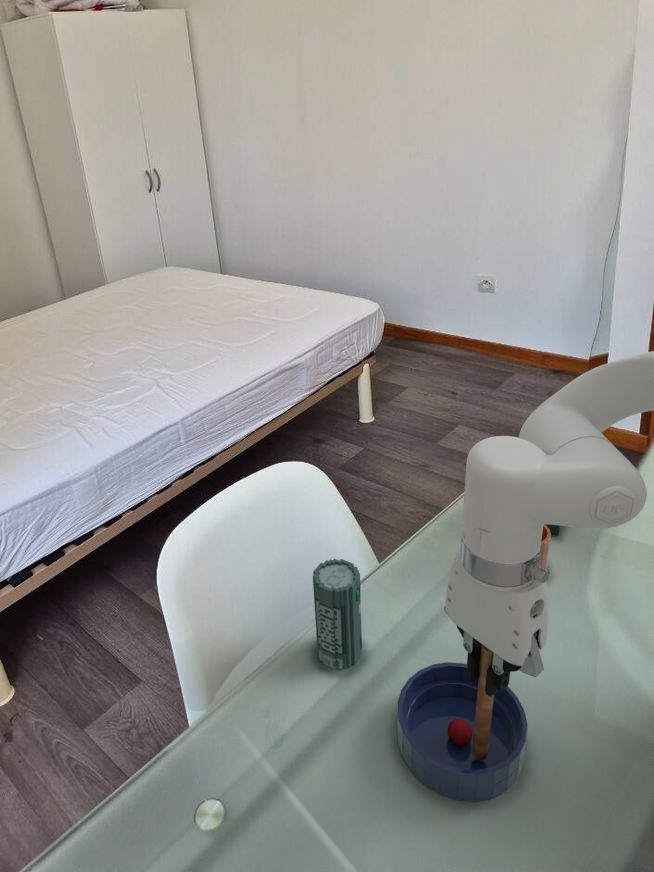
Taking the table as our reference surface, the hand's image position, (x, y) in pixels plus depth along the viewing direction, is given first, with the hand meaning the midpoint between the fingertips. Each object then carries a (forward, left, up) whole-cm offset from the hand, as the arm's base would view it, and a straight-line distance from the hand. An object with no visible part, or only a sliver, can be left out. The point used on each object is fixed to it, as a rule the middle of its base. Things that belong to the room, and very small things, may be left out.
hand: (486, 680), depth 77 cm
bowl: (+3, 0, -14) cm, 15 cm away
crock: (+16, -32, -14) cm, 39 cm away
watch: (+20, -44, -15) cm, 51 cm away
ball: (+3, 0, -14) cm, 14 cm away
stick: (0, 0, -13) cm, 13 cm away
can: (+23, +2, -15) cm, 27 cm away
